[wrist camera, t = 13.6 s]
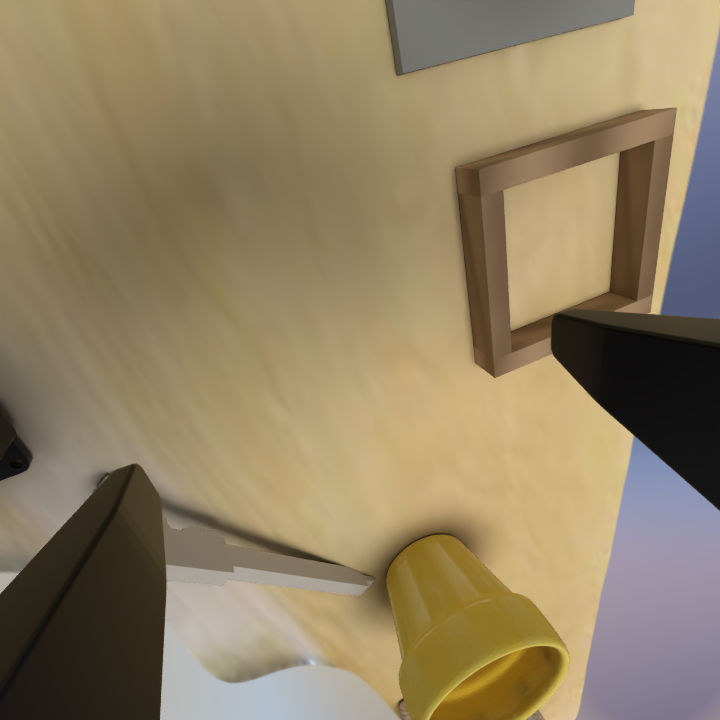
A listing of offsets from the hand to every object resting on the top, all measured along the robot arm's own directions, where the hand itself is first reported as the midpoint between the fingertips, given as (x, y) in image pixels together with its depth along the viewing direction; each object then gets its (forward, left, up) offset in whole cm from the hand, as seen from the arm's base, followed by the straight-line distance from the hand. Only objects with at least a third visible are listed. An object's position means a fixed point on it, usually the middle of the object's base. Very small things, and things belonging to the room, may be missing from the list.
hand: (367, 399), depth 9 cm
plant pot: (+4, -26, -13) cm, 30 cm away
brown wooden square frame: (+16, -4, -13) cm, 21 cm away
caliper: (-6, -16, -14) cm, 22 cm away
